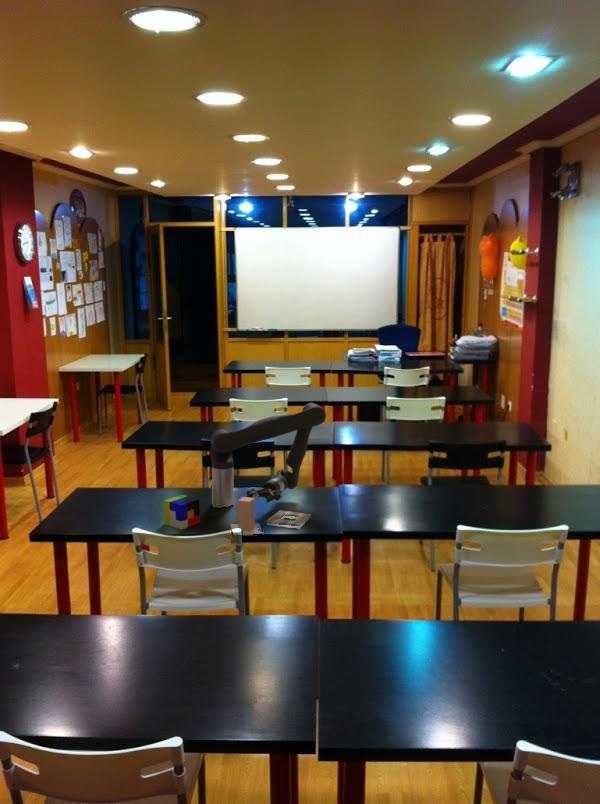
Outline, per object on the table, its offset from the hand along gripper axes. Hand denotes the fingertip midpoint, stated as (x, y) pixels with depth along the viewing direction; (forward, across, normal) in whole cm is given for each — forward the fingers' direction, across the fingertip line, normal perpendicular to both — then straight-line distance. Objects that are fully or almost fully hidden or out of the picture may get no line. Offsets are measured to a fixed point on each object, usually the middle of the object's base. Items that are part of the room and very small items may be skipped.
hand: (257, 498), depth 288 cm
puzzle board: (-4, +12, +10) cm, 16 cm away
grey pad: (+11, 0, +10) cm, 15 cm away
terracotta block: (+11, 0, +9) cm, 14 cm away
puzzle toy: (+13, -28, +10) cm, 32 cm away
